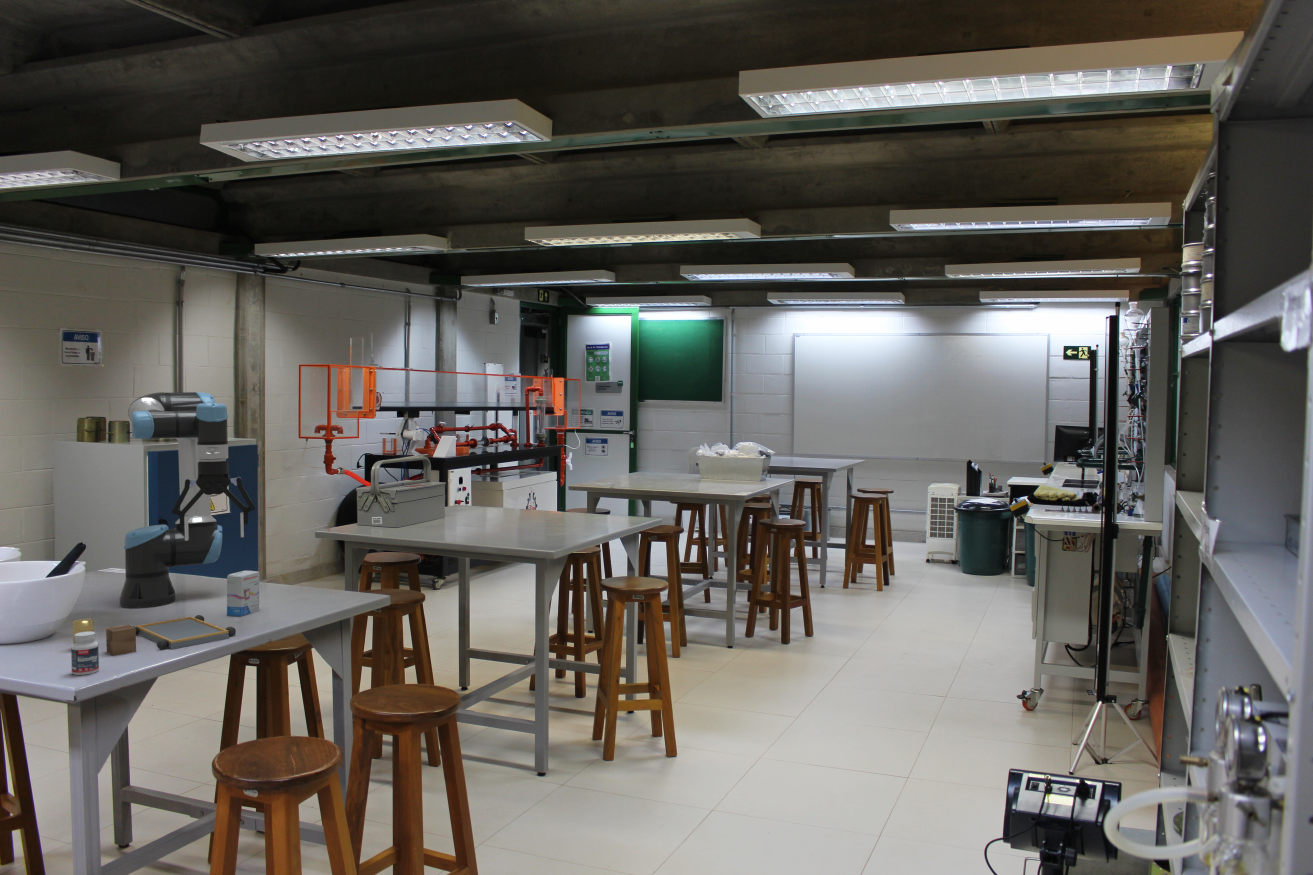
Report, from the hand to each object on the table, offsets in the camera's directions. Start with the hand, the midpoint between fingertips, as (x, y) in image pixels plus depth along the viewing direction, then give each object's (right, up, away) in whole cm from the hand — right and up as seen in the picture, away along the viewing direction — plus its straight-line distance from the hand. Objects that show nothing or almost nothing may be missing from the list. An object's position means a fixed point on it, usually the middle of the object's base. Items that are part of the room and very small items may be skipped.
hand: (214, 538), depth 247 cm
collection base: (-5, -25, -8) cm, 26 cm away
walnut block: (-12, -25, -23) cm, 36 cm away
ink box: (0, -24, +18) cm, 30 cm away
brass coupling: (-23, -25, -20) cm, 40 cm away
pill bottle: (-10, -26, -40) cm, 49 cm away
